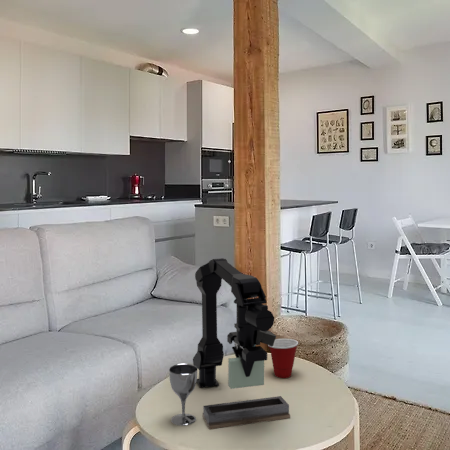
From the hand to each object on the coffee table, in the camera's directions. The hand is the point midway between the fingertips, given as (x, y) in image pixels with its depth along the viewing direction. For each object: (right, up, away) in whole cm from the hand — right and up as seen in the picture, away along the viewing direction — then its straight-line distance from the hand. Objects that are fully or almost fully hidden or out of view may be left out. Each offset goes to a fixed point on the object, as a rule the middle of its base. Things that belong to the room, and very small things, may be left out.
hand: (246, 374), depth 145 cm
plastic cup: (+14, -10, +32) cm, 36 cm away
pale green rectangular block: (0, -3, 0) cm, 3 cm away
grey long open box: (0, -13, +1) cm, 13 cm away
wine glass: (-18, -13, 0) cm, 22 cm away
